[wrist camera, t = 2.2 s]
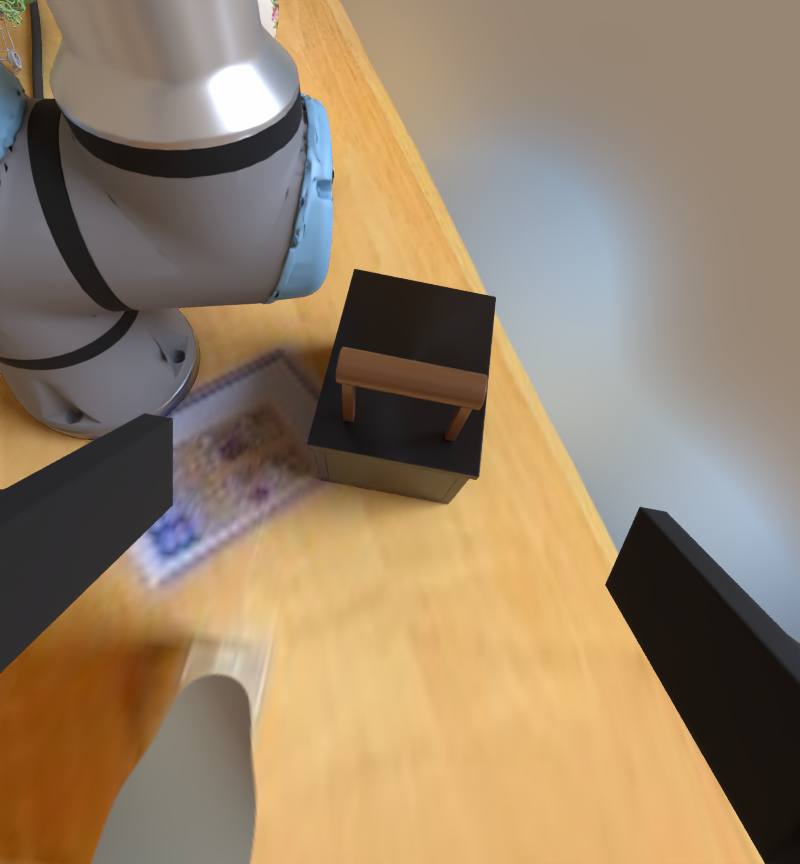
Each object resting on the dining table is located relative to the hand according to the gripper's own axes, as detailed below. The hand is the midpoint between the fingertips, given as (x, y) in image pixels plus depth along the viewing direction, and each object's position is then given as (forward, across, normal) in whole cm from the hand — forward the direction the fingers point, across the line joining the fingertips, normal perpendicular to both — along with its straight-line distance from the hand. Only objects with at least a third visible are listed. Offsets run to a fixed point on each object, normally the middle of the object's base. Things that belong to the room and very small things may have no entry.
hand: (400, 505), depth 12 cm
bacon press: (+22, 0, -1) cm, 22 cm away
